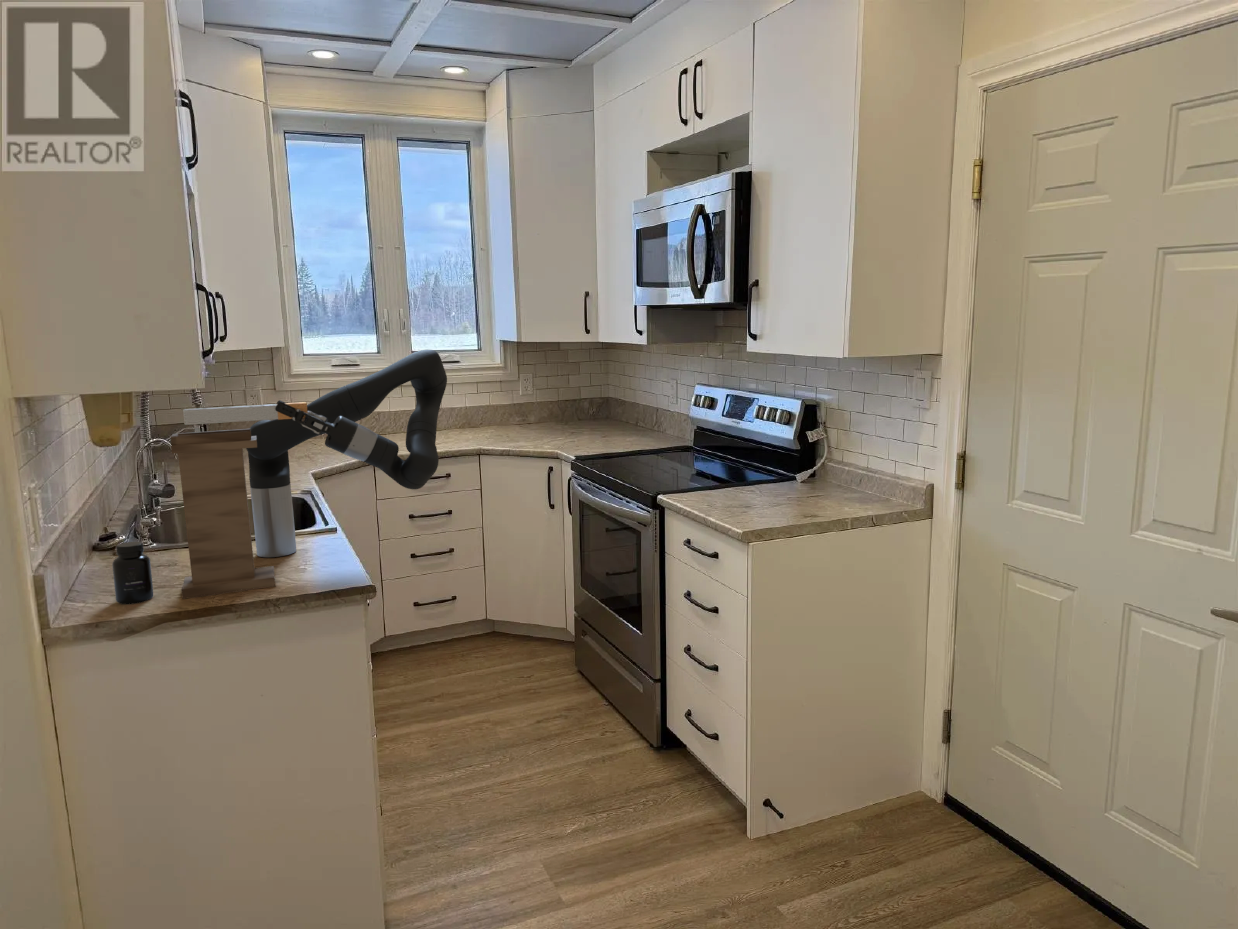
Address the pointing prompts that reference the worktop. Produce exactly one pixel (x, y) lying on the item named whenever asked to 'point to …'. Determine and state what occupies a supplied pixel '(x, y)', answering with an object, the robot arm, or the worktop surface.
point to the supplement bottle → (132, 574)
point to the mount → (217, 513)
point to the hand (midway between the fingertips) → (276, 404)
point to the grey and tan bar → (237, 413)
